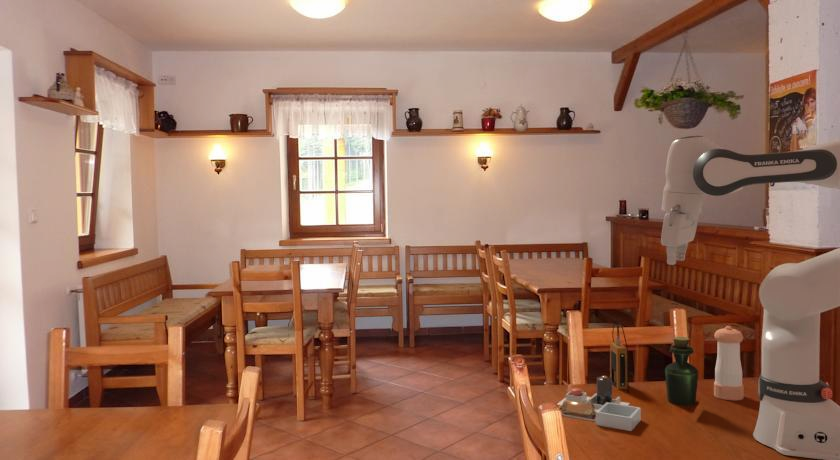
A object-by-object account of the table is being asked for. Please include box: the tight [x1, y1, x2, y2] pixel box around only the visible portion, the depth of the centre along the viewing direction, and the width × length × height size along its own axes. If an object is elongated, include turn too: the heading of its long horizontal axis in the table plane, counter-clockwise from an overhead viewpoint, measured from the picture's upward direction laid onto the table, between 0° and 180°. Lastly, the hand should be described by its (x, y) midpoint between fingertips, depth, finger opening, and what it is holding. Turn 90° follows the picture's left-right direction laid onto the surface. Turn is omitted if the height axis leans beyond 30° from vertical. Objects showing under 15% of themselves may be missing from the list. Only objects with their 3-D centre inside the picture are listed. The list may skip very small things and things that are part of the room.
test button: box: [570, 387, 583, 396], centre depth 167 cm, size 3×3×2 cm
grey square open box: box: [595, 402, 642, 432], centre depth 151 cm, size 8×8×4 cm
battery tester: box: [556, 390, 631, 411], centre depth 164 cm, size 16×10×4 cm, turn 56°
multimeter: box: [607, 319, 630, 393], centre depth 179 cm, size 15×10×20 cm
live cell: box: [561, 400, 596, 419], centre depth 157 cm, size 8×4×4 cm, turn 56°
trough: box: [558, 405, 596, 423], centre depth 157 cm, size 11×6×2 cm, turn 56°
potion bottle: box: [664, 336, 699, 407], centre depth 164 cm, size 8×8×18 cm
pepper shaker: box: [713, 325, 745, 401], centre depth 172 cm, size 7×7×19 cm
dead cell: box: [596, 375, 613, 405], centre depth 162 cm, size 4×4×8 cm
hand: (675, 262), depth 152 cm, fingers open, 8 cm apart
